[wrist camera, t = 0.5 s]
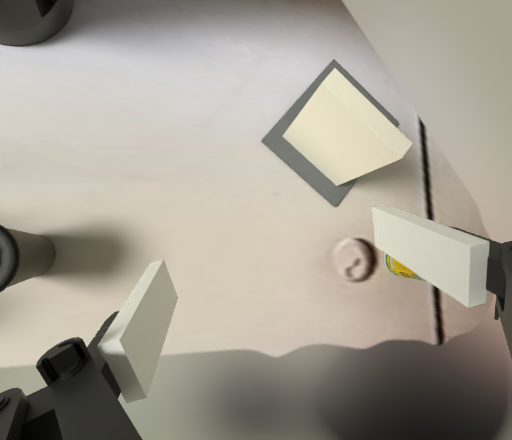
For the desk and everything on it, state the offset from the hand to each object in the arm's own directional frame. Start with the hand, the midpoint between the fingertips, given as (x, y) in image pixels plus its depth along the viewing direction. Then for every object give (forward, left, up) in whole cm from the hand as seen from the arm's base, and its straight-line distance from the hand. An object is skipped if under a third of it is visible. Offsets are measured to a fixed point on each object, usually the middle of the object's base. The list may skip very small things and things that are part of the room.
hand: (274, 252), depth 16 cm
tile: (-9, +17, -22) cm, 30 cm away
